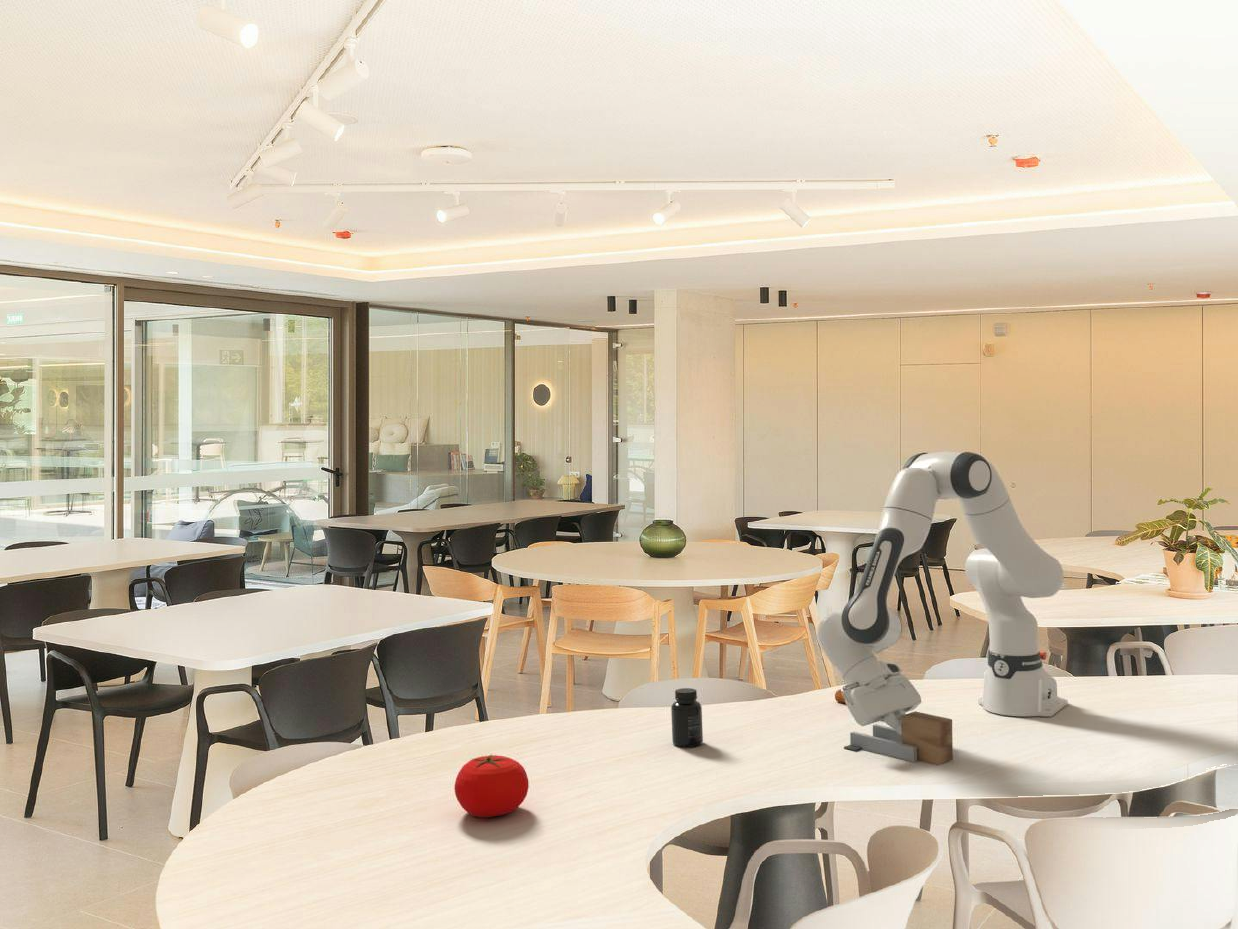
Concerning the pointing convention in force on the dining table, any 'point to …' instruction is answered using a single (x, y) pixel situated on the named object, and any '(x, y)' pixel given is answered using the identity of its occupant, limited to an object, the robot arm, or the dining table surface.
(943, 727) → the block
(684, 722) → the supplement bottle
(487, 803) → the tomato
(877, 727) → the channel
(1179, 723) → the dining table surface
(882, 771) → the dining table surface
